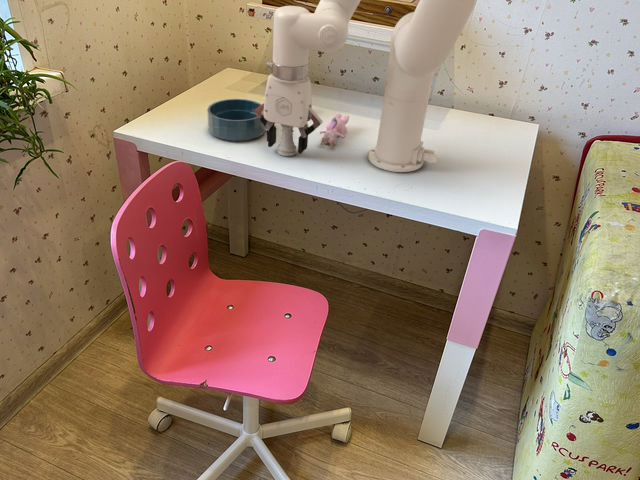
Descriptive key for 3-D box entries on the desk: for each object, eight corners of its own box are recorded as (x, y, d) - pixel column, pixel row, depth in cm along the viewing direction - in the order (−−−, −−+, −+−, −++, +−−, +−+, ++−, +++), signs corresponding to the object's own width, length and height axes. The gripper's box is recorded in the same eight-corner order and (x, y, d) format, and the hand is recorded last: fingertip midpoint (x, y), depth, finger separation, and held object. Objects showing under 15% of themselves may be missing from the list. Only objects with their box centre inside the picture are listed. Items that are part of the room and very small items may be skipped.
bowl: (274, 126, 143) (275, 105, 139) (250, 147, 132) (250, 125, 129) (225, 115, 147) (224, 95, 144) (198, 135, 137) (196, 114, 133)
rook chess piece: (300, 153, 131) (301, 120, 126) (287, 159, 128) (288, 125, 123) (286, 147, 133) (287, 114, 128) (273, 152, 130) (273, 120, 125)
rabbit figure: (338, 155, 133) (355, 123, 143) (339, 133, 129) (356, 102, 139) (313, 150, 135) (331, 119, 145) (313, 128, 131) (332, 98, 140)
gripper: (245, 69, 119) (245, 146, 130) (322, 82, 114) (315, 162, 124) (260, 59, 124) (259, 135, 135) (334, 72, 119) (327, 149, 130)
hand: (286, 147), depth 130 cm, fingers open, 6 cm apart
